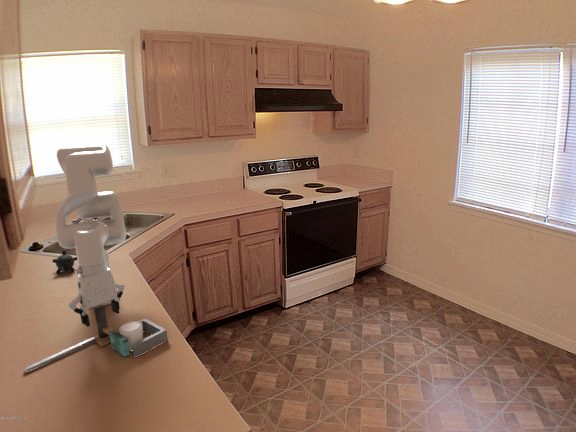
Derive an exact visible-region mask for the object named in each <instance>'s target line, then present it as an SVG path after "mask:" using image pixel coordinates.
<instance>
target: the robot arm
mask: <svg viewBox="0 0 576 432" xmlns="http://www.w3.org/2000/svg"><path fill="white" fill-rule="evenodd" d="M56 158H57V162H58V164H59V166H60V168H61V170H62V171H63V173H64V174H65V178H66V185H67V186H66V187H67V193H68V195H67V197H65V199H63V200H62V202H61V203H60V205H59V206H58V208H57V211H56V214H55V230H56V237H57V242H58V244H59V246H60V247H61V248H63V250H71V249H75V253H76V257H77V260H76V261H77V265H78V266H77V269H75V271H74V274H75V275H77V294H78V295H77V296H76V297H75V298H74V299H73V300H72V301H70V303H68V307H69V309H71V310H72V311H73V312H74V313H75V314H79V316H80V321H81V323H82V325H84V326H86V327H88V328H89V327H90V326H91V322H90V317H89V314H88V311H89V309H92V308H93V309H94V307H96V306H98V305H104V307H106V306H108V305H110V304H111V309H112V312H113V313H115V314H116V315H119V314H120V309H121V308H120V303H119V302H120V301H121V298H122V295H124V290H125V285H124V284H122V283H116V281H115V279H114V275H113V273H112V272H113V271H112V268H111V266H112V265H111V261H110V255H109V254H108V252H107V251H106V250H105V248H104V247H105V246H111V245H117V244H121V243H123V242H125V240H126V237H127V236H126V235H127V233H126V226H125V220H124V213H123V208H122V202H121V199H120V196H119V194H118V193H117V192H115V191H111V190H108V191H100V192H99V190H98V187H97V182H96V178H95V177H99V176H108V175H111V174H112V173H113V166H114V165H113V163H114V162H113V157H112V154H111V151H110V149H109V147H108V145H106V144H103V143H102V144H87V145H86V144H85V145H71V146H65V147H61V148H59V149H58V150H57V151H56ZM73 212H75V214H76V216H77V217H78V219H81V220H90V219H98V218H110V219H107V220H95V221H87V222H80V223H73V224H72V223H71V224H67V219H68V217H69V215H71V214H72V213H73ZM78 304H80V307H79V308H78V307H77V305H78Z"/></svg>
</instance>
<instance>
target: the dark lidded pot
mask: <svg viewBox="0 0 576 432" xmlns="http://www.w3.org/2000/svg"><path fill="white" fill-rule="evenodd" d="M76 261H78V260H77V256H75V257H73V256H71V254H68V253H67V249H62V251H61V255H59V256H58V257H57V258H53V259H52V263H55V266H56V267H57V269H56V270H55V273H56V275H58V274H60V273H61V272H64V271H71V272H72V273H75V270H76V269H75V268H74V265H75V262H76Z"/></svg>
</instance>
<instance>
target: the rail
mask: <svg viewBox="0 0 576 432" xmlns="http://www.w3.org/2000/svg"><path fill="white" fill-rule="evenodd" d="M91 343H92V344H93V343H94V344H95V343H96V342H95V340H94V336H92V337H90V338H88V339H85V340H83V341H81V342H79V343H75V345H72V346H69V347H68V348H66V349H63V350H61V351H59V352H57V353H54V354H52V355H50V356H48V357H46V358H43V359H41V360H38V361H37V362H35V363H33V364H30V365H28V366H26V367H24V368H23V372H24V371H29V370H31V369H34V368H36V367H39V366H41V365H44V364H46V363H49V362H51V361H53V360H55V361H56V359H57V360H59V359H62V358H63V356H64V357H65V355H66V356H68V355H70V354H72V353H74V352H76V350H77V351H78V349H79V350H81V349H83V348H85V347H87V346H89V344H90V345H91ZM80 348H81V349H80ZM73 351H74V352H73ZM71 352H72V353H71ZM69 353H70V354H69ZM58 358H59V359H58ZM53 362H54V361H53ZM51 363H52V362H51ZM49 364H50V363H49ZM46 365H47V364H46ZM44 366H45V365H44Z"/></svg>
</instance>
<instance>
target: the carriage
mask: <svg viewBox="0 0 576 432" xmlns="http://www.w3.org/2000/svg"><path fill="white" fill-rule="evenodd" d="M93 309H94V316H95V317H94V318H95V323H96V328H97V329H96V330H97V334H96V335H94V336H93V337H94V340H95V342H94V343H96V344H97V345H99V346H100V347H104V346H106V345H108V344H111V349H113V350H114V351H115V352H117V353H118V354H120V355H121V356H123V357H124V358H125V357H127V356H129V355H130V352H129V346H128V340H127V338H126V337H125V336H123V335H121V334H120V333H118V332H117V331H118V330H114V329H113V328H112V327H110V326H109V325H108V320H107V313H106V306H104V305H98V306H96V307H93Z"/></svg>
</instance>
